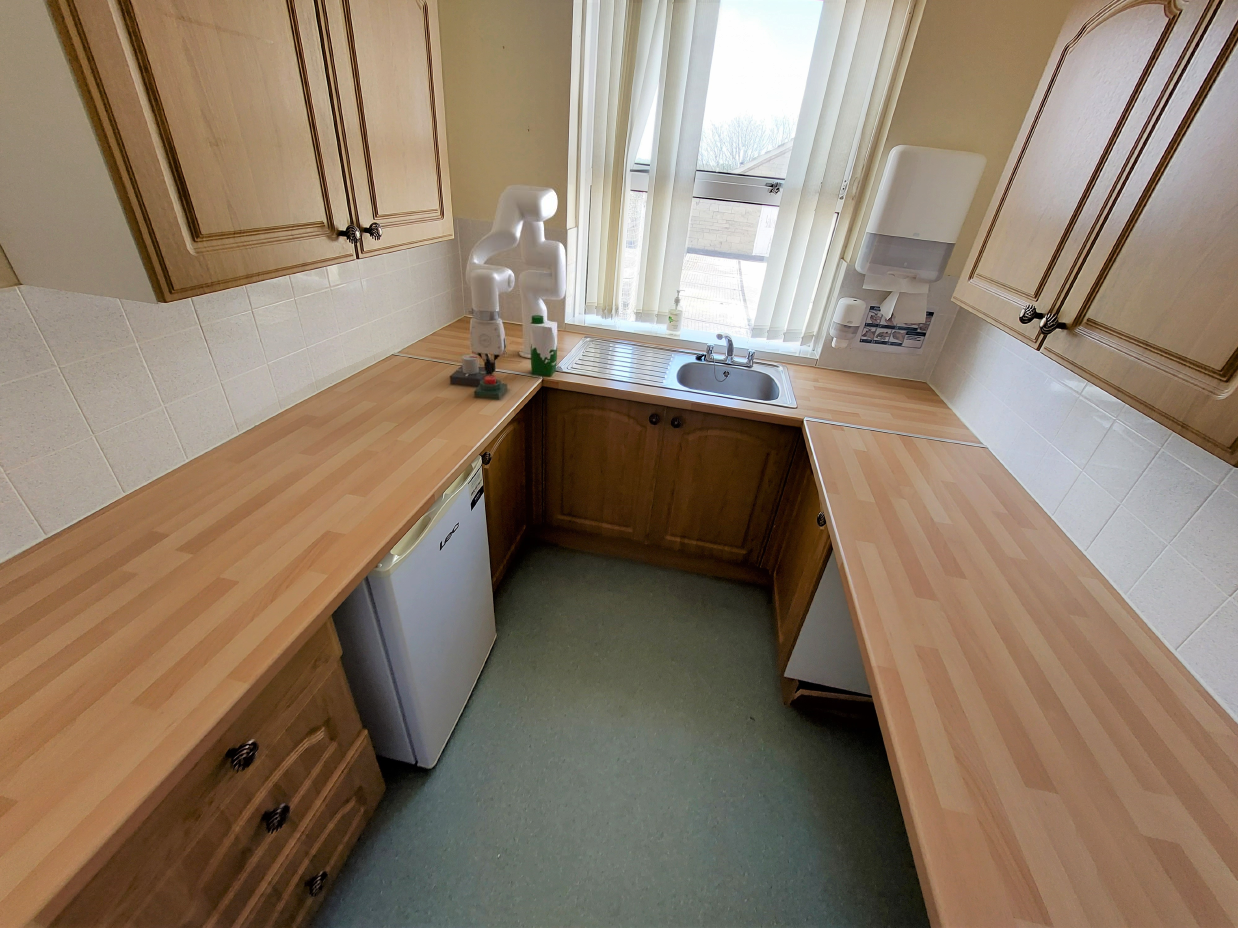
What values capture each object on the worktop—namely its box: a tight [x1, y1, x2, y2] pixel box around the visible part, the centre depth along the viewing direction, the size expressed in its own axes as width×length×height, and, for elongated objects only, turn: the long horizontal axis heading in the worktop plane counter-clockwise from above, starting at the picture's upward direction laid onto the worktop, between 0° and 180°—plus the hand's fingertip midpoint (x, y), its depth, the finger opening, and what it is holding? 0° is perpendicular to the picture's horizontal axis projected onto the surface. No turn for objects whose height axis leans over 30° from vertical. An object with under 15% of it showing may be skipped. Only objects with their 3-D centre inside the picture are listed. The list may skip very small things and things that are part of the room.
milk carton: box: [529, 315, 558, 378], centre depth 171 cm, size 9×9×20 cm
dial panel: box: [449, 365, 492, 388], centre depth 164 cm, size 12×10×3 cm
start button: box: [484, 375, 497, 384], centre depth 154 cm, size 4×4×2 cm
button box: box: [473, 378, 508, 401], centre depth 155 cm, size 9×8×4 cm
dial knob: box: [461, 354, 480, 374], centre depth 162 cm, size 5×5×5 cm
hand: (490, 373), depth 153 cm, fingers closed
